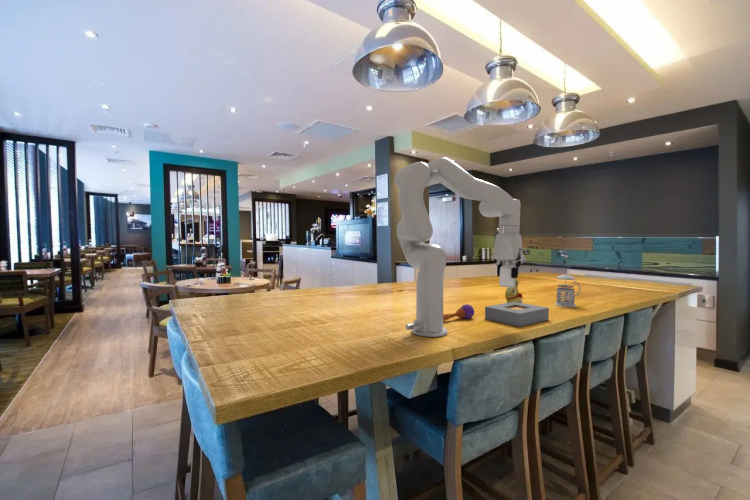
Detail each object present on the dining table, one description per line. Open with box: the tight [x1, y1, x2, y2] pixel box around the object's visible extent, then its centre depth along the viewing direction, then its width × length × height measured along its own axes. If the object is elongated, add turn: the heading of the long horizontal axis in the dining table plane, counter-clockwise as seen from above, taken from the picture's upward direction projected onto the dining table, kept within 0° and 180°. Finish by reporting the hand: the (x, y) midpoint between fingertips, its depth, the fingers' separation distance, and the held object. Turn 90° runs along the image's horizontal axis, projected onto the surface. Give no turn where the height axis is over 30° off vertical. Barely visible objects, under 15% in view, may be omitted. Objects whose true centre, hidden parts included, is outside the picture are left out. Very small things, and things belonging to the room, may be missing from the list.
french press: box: [554, 255, 582, 308], centre depth 172 cm, size 10×12×25 cm
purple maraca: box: [443, 304, 475, 322], centre depth 141 cm, size 6×6×20 cm
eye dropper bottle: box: [498, 260, 515, 288], centre depth 134 cm, size 4×6×12 cm
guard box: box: [484, 302, 550, 328], centre depth 142 cm, size 20×16×5 cm
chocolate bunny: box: [504, 277, 524, 303], centre depth 163 cm, size 7×11×15 cm, turn 123°
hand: (507, 276), depth 134 cm, fingers closed on eye dropper bottle, 5 cm apart
